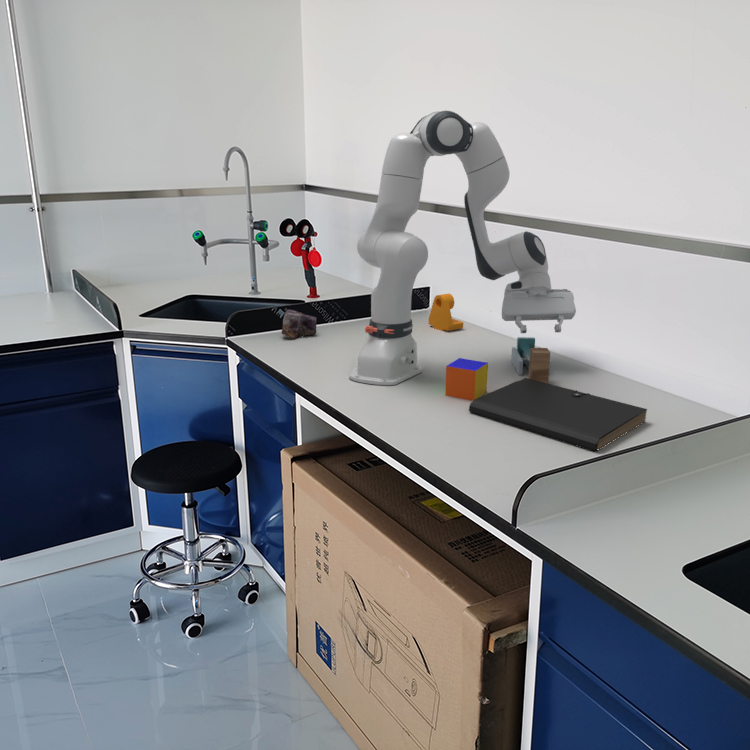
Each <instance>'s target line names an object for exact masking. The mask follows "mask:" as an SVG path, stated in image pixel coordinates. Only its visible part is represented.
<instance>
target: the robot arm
mask: <svg viewBox="0 0 750 750" xmlns="http://www.w3.org/2000/svg"><path fill="white" fill-rule="evenodd" d="M496 137H497V136H495V134H494V132H493V131H492V129H491V128H490V126H489V125H488V124H487V123H484V122H472V123H470V122H468V121H467V120H466V119H464V118H463V117H462V116H461V115H459V114H458V113H456V112H455V111H451V110H441V111H433V112H431V113H429V114H427V115H425V116H423V117H421V118H420V119H419V120H418V121H417V123H416V124H415V126H414V127H413V128H412V129H411V131H410V132H407V133H406V132H403V133H401V132H400V133H399V134H396V135H394V136H393V137H391V139H389V143H388V146H387V149H386V152H385V155H384V159H383V164H382V169H381V177H380V184H379V189H378V196H377V200H376V201H377V202H376V206H375V209H374V212H373V214H372V216H371V219H370V222H369V224H368V226H367V228H366V229H365V230H364V231H363V232H362V233H360V236H359V238H358V240H357V245H356V248H357V253H358V255H359V256H360V258H361V259H362V260H363V261H364V262H366V263H367V264H369V265H370V266H372V267H375V268H379V269H380V274H379V279H378V282H377V285H376V286H375V287H374V288H373V289H372V291H371V293H370V294H371V295H370V299H371V300H370V305H371V307H370V312H371V313H370V315H371V316H370V320H369V323H368V325H367V324H366V326H365V328H364V329H365V330H364V332H365V333H366V334H368V335H367V338H366V340H365V342H364V343H363V345H362V347H361V349H360V352H359V354H358V357H357V365H356V366H355V367H354V369H352V371H351V372H350V374H349V375H348V379H349V380H351V381H355V382H357V383H358V382H359V383H363V384H369V385H378V386H395V385H398V384H399V383H402V382H404V381H405V380H408V379H410V378H412V377H414V376H416V375H418V374H421V373H422V372H423V368H422V367H421V366H420V365H418V346H417V345H418V344H417V342H416V340H415V339H414V337H413V335H412V333H413V319H412V317H411V316H412V296H413V288H414V285H415V282H416V278H417V276H418V274H419V272H420V271H422V270H423V269H424V267H425V266H426V264H427V262H428V258H429V249H428V246H427V244H426V242H425V241H424V240H422V239H421V238H420V237H419V236H417V235H414V234H413V233H410V232H406V227H407V226H408V224H409V221H410V220H411V218H412V216H414V215H415V213H416V212H417V211H418V209H419V206H420V200H421V195H422V194H421V193H422V186H423V181H424V173H425V167H426V164H427V162H428V160H429V159H430V158H431V157H433V156H434V157H443V156H447V155H452V154H454V155H455V156H456V157H457V158H458V159H459V161H460V162H461V164H462V167H463V169H464V171H465V175H466V177H467V180H468V187H467V188H468V189H467V191H466V192H465V194H464V200H463V201H464V203H463V204H464V209H465V213H466V215H465V216H466V219H467V223H468V228H469V232H470V236H471V240H472V244H473V247H474V254H475V262H476V267H477V270H478V272H479V274H480V275H481V276H482V277H484V278H485V279H488V280H490V281H496V280H498V279H500V278H503V277H504V276H506V275H509V274H511V273H515V272H517V275H518V276H519V278H518V280H516V281H513V282H510V283H507V284H506V286H505V289H504V294H503V300H502V303H501V304H502V306H501V319H502V320H503V321H505V322H514V323H515V325H516V326H517V327H518V329H519V331H520V334H527V332H528V331H527V330H528V328H527V324H523V323H522V322H523V321H528V322H529V321H557V323H555V324H554V327H553V328H554V333H561V332H562V324H563V323H564V321H566V320H567V321H568V320H569V321H570V320H572V319H574V317H575V315H576V313H577V310H576V309H577V308H576V305H575V301H574V300H575V297H574V293H573V292H572V291H571V290H568V289H566V288H562V289H560V288H559V289H558V288H557V289H556V288H555V289H554V288H553V289H552V285H551V284H552V283H551V282H552V281H551V278H550V275H549V272H548V271H549V263H548V257H547V253H546V247H545V245H544V243H543V241H542V239H541V238H540V237H539V236H538V235H536V234H535V233H533V232H530V231H527V230H525V231H522V232H520V233H516V234H513V235H511V236H509V237H507V238H504V239H502V240H501V239H500V240H498V241H495V242H490V239H489V234H488V231H487V226H486V221H485V219H484V218H485V216H484V213H485V210H486V208H487V207H488V206H489V205H490V204H491V203H492V202H493V201H494V200H495V199H496V198H497V197H498V196H499V195H500V194H501V193H502V192H503V191H504V189H505V188H506V186H507V184H508V182H509V180H510V169H509V165H508V161H507V160H506V159H507V158H506V157H505V154H504V152H503V149H502V147H501V145H500V144H499V141H498V139H497V138H496Z"/></svg>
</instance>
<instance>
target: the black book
mask: <svg viewBox="0 0 750 750" xmlns="http://www.w3.org/2000/svg"><path fill="white" fill-rule="evenodd" d="M468 407H469V408H468V411H469V413H470V414H474V415H477V416H481V417H483V418H487V419H489V418H490V420H493V421H496V422H500V423H501V424H506V425H510V426H512V427H516V428H519V429H521V430H526V431H528V432H531V433H535V434H537V435H540V434H541V435H542V436H544V437H548V438H550V439H554V440H556V439H557V441H560V442H563V441H564V442H563V443H566V442H567V443H566V444H569V443H571V444H570V445H572V444H574V445H573V446H576V445H578V446H577V447H579V446H581V447H580V448H582V447H584V448H583V449H585V448H588V449H591V450H594V451H593V452H595V451H596V450H597V449H600V448H602V447H604V446H605V445H607V444H608V443H610V442H612V441H613V440H615V439H617V438H618V437H620V436H621V435H623V434H625V433H626V432H628V431H630V430H631V429H633V428H635V427H636V426H638V425H640V424H641V423H643V422H645V423H646V419H647V411H648V410H649V409H647V408H644V407H640V406H636V405H633V404H628V403H625V402H622V401H621V402H620V401H617V400H613V399H610V398H606V397H602V396H597V395H594V394H590V393H587V392H583V391H579V390H577V389H576V390H574V389H571V388H566V387H562V386H559V385H554V384H551V383H549V382H548V383H544V382H540V381H536V380H532V379H528V377H523V378H522V379H520V380H517V381H514V382H512V383H509V384H507V385H505V386H502V387H500V388H498V389H495V390H492V391H491V392H489V393H487V394H486V393H485V394H483V395H482V396H480V397H479V398H477V399H475V400H473V401H471V402H470V404H469V406H468ZM643 424H644V423H643ZM641 425H642V424H641ZM641 425H640V426H641ZM638 427H639V426H638ZM636 428H637V427H636ZM636 428H635V429H636ZM633 430H634V429H633ZM630 432H631V431H630ZM628 433H629V432H628ZM625 435H626V434H625ZM620 438H621V437H620ZM617 440H618V439H617ZM615 441H616V440H615ZM612 443H613V442H612ZM610 444H611V443H610ZM607 446H608V445H607ZM605 447H606V446H605ZM605 447H604V448H605ZM588 449H587V450H588ZM602 449H603V448H602ZM591 450H590V451H591ZM600 450H601V449H600ZM596 452H597V451H596Z"/></svg>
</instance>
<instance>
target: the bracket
mask: <svg viewBox="0 0 750 750" xmlns="http://www.w3.org/2000/svg"><path fill="white" fill-rule="evenodd" d="M454 307H455V298H454V296H453V294H451V293H444V294H437V295H435V296H434V297H433V301H432V305H431V308H430V313H429V316H428V321H427V322H428V325H429V326H432V328H433V329H435V330H438V331H441V332H446V330H447V331H454V330H459V329H464V322H463V321H461V320H458V319H455V318H453V317H452V312H451V310H452V309H453V308H454Z"/></svg>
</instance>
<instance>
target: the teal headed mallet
mask: <svg viewBox="0 0 750 750" xmlns="http://www.w3.org/2000/svg"><path fill="white" fill-rule="evenodd" d="M516 340H517V341H516V349H517V351H518V353H519V355H520V357H521V358H522V360H524V362H525V364H526V366H525V367H526V368H527V369H528V370H529V360H530V348H536V338H535V337H525V336H524V337H517V339H516Z"/></svg>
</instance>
